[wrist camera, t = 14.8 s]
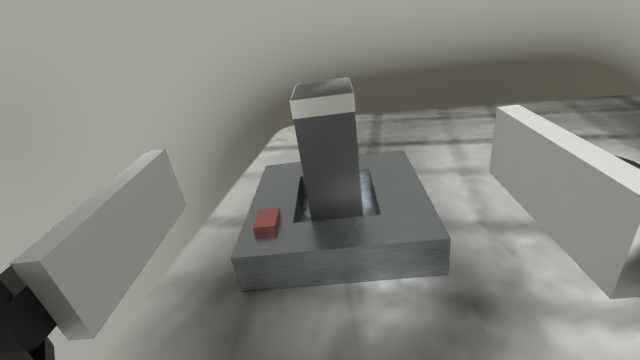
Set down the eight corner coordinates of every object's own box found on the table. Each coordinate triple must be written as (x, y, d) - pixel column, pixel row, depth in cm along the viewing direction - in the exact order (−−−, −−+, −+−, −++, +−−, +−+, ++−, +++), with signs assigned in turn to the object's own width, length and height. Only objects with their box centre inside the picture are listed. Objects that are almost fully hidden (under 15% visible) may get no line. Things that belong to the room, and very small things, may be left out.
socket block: (404, 177, 34) (403, 144, 32) (447, 274, 22) (450, 230, 20) (271, 191, 35) (264, 160, 33) (242, 291, 23) (228, 251, 21)
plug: (359, 199, 30) (349, 77, 25) (365, 233, 26) (353, 92, 21) (315, 204, 31) (296, 84, 25) (313, 238, 26) (289, 101, 21)
